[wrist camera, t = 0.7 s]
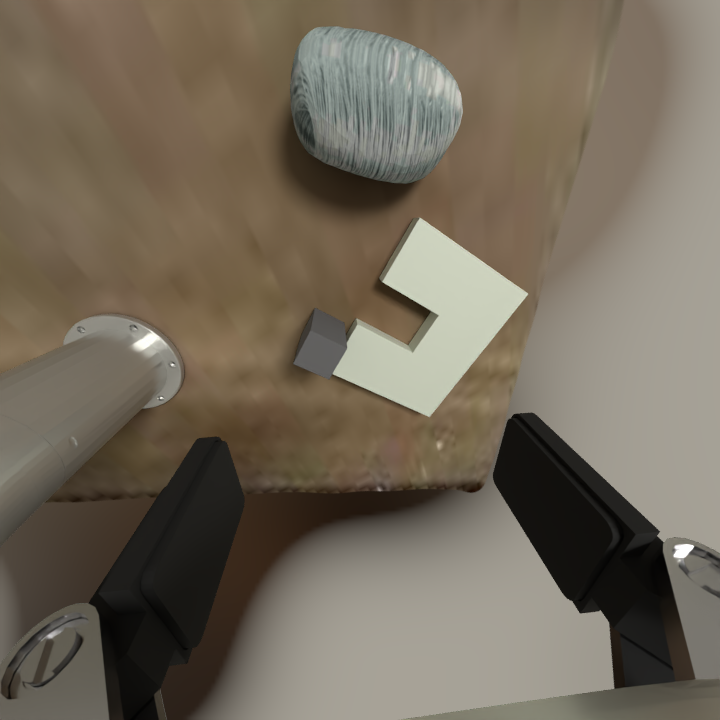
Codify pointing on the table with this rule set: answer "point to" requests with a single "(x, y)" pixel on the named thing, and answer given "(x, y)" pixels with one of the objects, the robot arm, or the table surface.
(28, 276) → the table surface
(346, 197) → the table surface
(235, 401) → the table surface
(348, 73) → the streaked blue-grey ovoid
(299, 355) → the gray rectangular block
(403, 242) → the board
